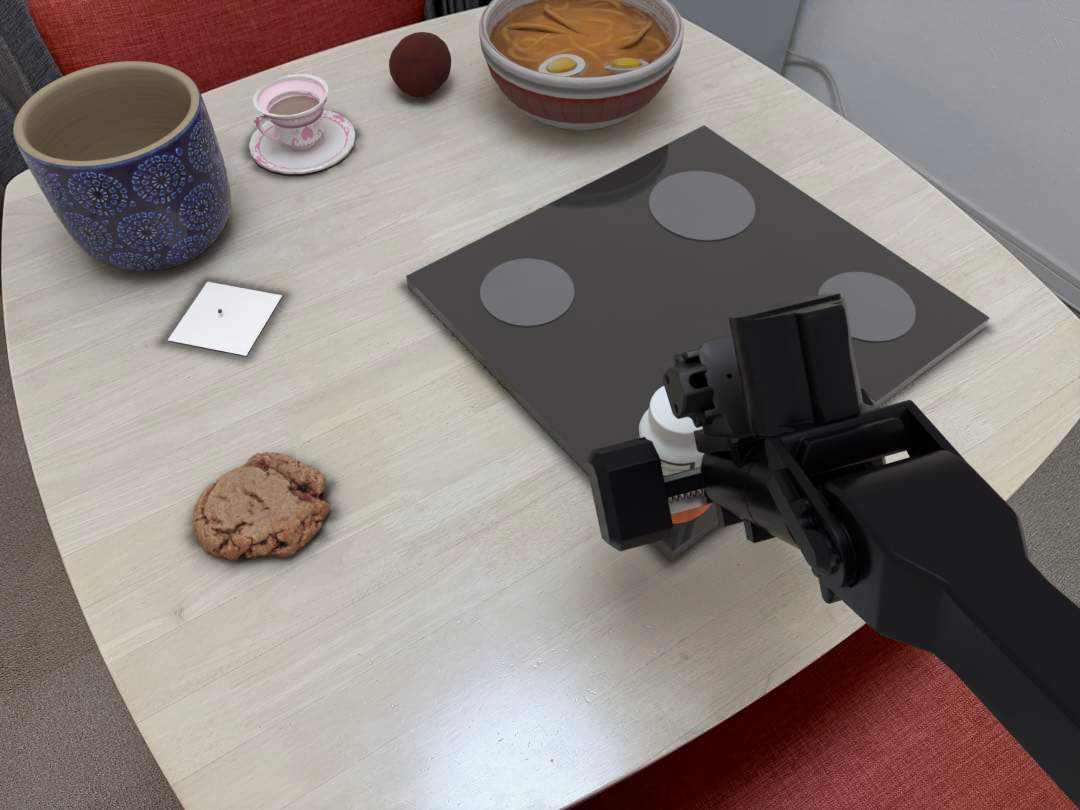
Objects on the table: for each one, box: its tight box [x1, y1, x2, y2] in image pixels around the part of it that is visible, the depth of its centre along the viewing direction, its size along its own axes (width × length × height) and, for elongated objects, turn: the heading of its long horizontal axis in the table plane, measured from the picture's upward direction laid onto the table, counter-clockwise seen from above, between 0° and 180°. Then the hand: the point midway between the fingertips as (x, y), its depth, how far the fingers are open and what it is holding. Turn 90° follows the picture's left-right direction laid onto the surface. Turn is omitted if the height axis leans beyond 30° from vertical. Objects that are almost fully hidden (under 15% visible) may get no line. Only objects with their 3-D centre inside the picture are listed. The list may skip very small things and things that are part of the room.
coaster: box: [167, 281, 283, 357], centre depth 84 cm, size 8×8×1 cm
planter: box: [12, 60, 232, 272], centre depth 86 cm, size 16×17×15 cm
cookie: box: [191, 451, 331, 561], centre depth 70 cm, size 10×11×3 cm
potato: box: [388, 31, 452, 99], centre depth 106 cm, size 7×8×7 cm
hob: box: [405, 125, 991, 562], centre depth 85 cm, size 38×40×2 cm
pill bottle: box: [637, 386, 704, 500], centre depth 67 cm, size 6×6×10 cm
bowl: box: [478, 0, 685, 131], centre depth 102 cm, size 23×23×10 cm
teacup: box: [248, 73, 357, 175], centre depth 99 cm, size 12×12×6 cm
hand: (690, 447), depth 64 cm, fingers open, 9 cm apart
